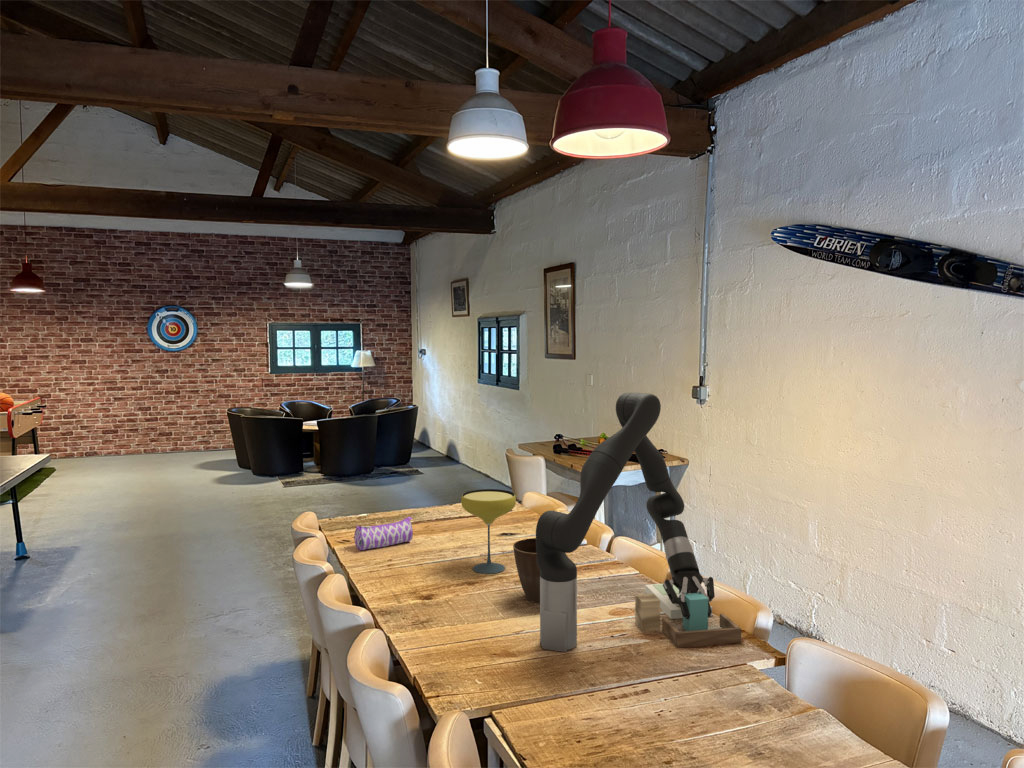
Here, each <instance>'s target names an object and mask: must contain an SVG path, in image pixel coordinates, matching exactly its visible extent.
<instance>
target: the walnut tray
mask: <svg viewBox="0 0 1024 768" xmlns="http://www.w3.org/2000/svg"><path fill="white" fill-rule="evenodd" d="M661 620H662V621H661V628H662V629H661V632H662V633H664V635H665V636H666V637H667V638H668V640H670V641H671V643H673V645H674V646H676V648H687V647H700V646H702V647H703V646H713V645H715V646H716V645H726V644H727V645H728V644H737V643H738V644H740V643H742V628H741V627H740V626H739V625H737V624H736V623H735V621H733V620H732V619H731V618H729V617H728V616H727V615H726V614H725V613H719V628H712V629H711V628H710V629H709V628H708V630H696V631H686V630H684V631H680V630H678V628H677V627H676V626H675V625H674V624H673V623H672V622H671V621H670V620H669V619H668V618H667V617H662V619H661Z"/></svg>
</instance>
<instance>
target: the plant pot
mask: <svg viewBox="0 0 1024 768" xmlns="http://www.w3.org/2000/svg"><path fill="white" fill-rule="evenodd" d="M512 548H513V554H514V560H515V561H514V562H515V566H516V570H517V574H518V575H517V576H518V578H519V582H520V585H521V588H522V590H523V593H524V596H525V599H526V600H527V601H529V602H531V603H534V604H535V603H538V604H540V569H539V567H538V564H537V553H536V537H535V538H534V537H533V538H532V537H531V538H524V539H519V540H517V541H515V543H513V545H512Z"/></svg>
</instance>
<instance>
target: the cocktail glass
mask: <svg viewBox="0 0 1024 768" xmlns="http://www.w3.org/2000/svg"><path fill="white" fill-rule="evenodd" d="M516 499H517V497H516V493H514V492H513V491H510V490H505V489H497V488H487V489H486V488H485V489H483V488H482V489H475V490H474V489H473V490H469V491H466V492H464V493H462V495H461V500H460V503H461V507H462V508H463V509H464V510H465V511H466V512H467V513H469V514H470V515H473V516H475V517H476V518H479V519H481V520H482V521H483V523H484V524H485V525H487V559H486V562H482V563H478V564H475V565H473V567H472V570H473V572H475V573H478V574H483V575H492V574H499V573H502V572H504V571H505V570H506V566H505V565H503V564H501V563H498V562H497V563H496V562H492V561H491V559H492V558H491V536H490V535H491V534H490V533H491V532H490V530H491V529H490V528H491V527H490V526H491V525H492V524H493V523H494V522H495V521H496V519H498V518H500V517H502V516H504V515H506V514H508V513H509V512H511V511H512V510H513V509H514V508H515V506H516V505H517V504H516V501H517V500H516Z"/></svg>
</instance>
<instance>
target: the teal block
mask: <svg viewBox="0 0 1024 768" xmlns="http://www.w3.org/2000/svg"><path fill="white" fill-rule="evenodd" d="M685 599H686V600H685V602H686V603H687V606H688V609H689V613H690V617H689V619H685V617H683V618H682V628H683V629H684V631H696V630H709V618H708V598H707V597H706V596H704V595H703V594H700V593H687V594H686V595H685Z"/></svg>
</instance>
